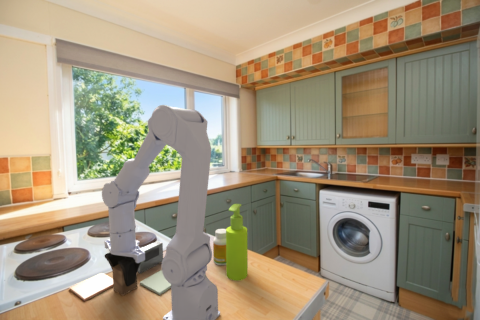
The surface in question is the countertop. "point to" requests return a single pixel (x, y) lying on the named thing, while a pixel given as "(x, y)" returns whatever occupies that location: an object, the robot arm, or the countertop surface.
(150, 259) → the grey unit
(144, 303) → the countertop surface
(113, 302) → the countertop surface
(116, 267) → the walnut block
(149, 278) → the sage tile
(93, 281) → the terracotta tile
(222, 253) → the supplement bottle
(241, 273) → the soap dispenser
